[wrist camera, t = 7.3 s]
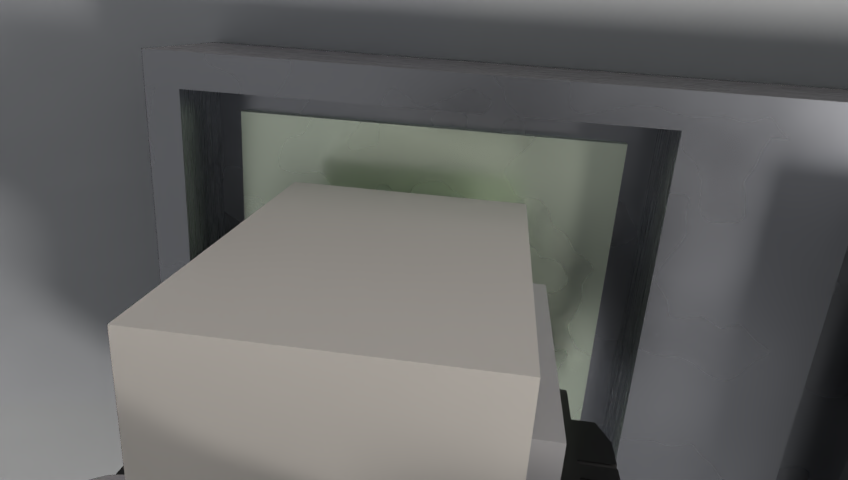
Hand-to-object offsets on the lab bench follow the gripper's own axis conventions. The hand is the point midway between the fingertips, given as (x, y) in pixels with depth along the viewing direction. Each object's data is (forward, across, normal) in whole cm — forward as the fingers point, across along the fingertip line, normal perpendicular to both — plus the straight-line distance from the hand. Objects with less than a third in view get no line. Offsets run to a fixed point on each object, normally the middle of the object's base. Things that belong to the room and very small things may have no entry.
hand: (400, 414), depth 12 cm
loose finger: (+1, 0, 0) cm, 1 cm away
